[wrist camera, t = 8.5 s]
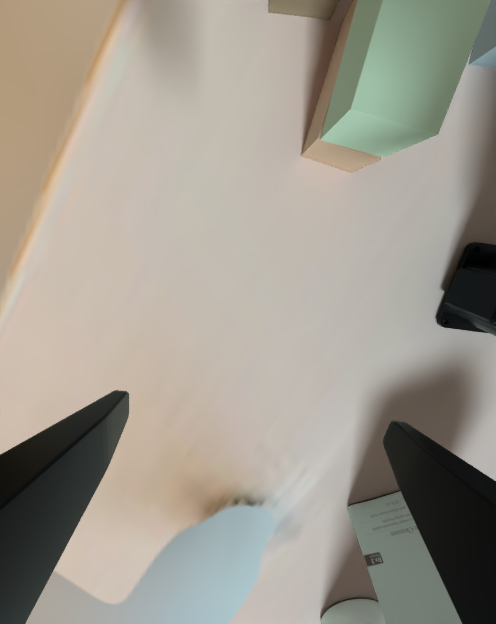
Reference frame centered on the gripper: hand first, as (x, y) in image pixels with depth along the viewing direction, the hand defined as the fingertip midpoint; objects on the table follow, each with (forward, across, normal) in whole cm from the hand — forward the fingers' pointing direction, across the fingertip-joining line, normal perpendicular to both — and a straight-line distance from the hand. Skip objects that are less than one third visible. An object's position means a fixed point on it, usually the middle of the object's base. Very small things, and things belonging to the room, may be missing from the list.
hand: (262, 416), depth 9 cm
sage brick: (+8, -4, -14) cm, 17 cm away
